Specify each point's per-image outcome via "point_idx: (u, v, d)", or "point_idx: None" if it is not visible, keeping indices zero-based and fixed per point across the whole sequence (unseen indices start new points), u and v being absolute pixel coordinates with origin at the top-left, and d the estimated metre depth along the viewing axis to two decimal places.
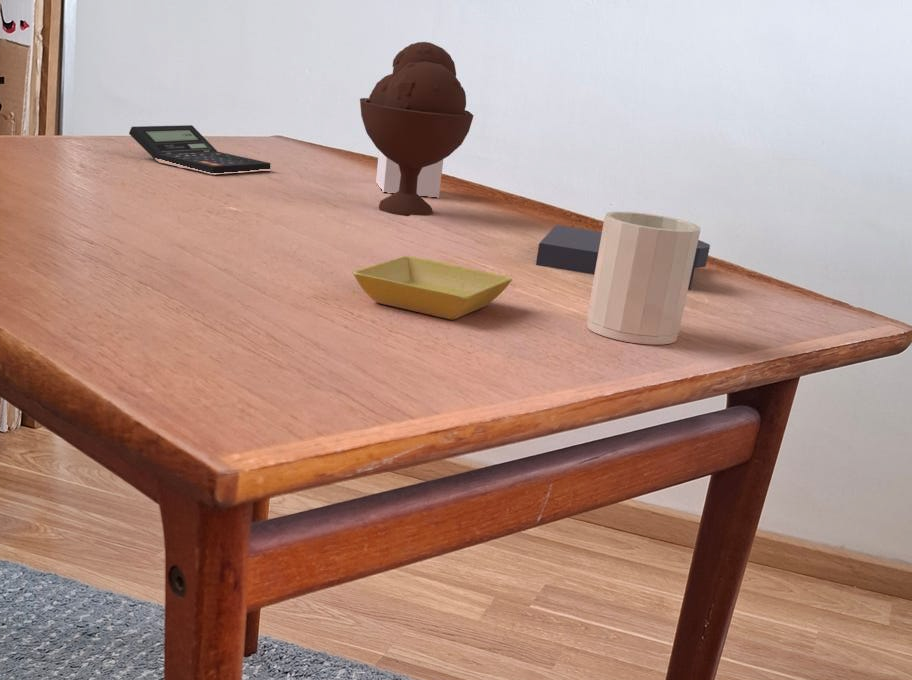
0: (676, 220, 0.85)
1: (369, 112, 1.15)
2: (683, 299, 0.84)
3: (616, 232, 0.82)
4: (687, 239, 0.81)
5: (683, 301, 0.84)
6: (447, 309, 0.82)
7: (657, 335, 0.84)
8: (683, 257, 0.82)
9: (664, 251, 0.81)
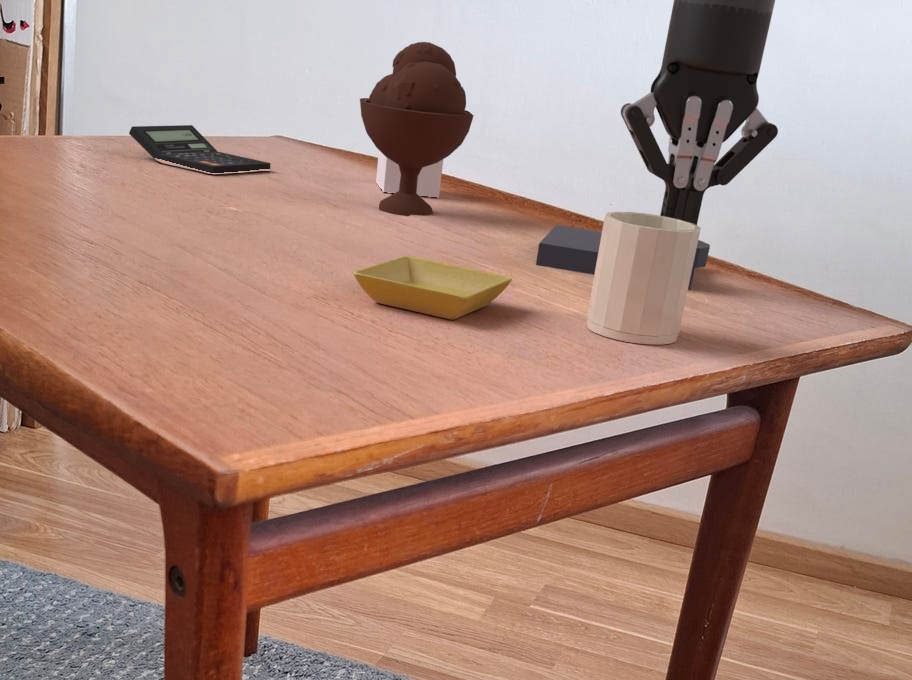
0: (676, 220, 0.85)
1: (369, 112, 1.15)
2: (683, 299, 0.84)
3: (616, 232, 0.82)
4: (687, 239, 0.81)
5: (683, 301, 0.84)
6: (447, 309, 0.82)
7: (657, 335, 0.84)
8: (683, 257, 0.82)
9: (664, 251, 0.81)
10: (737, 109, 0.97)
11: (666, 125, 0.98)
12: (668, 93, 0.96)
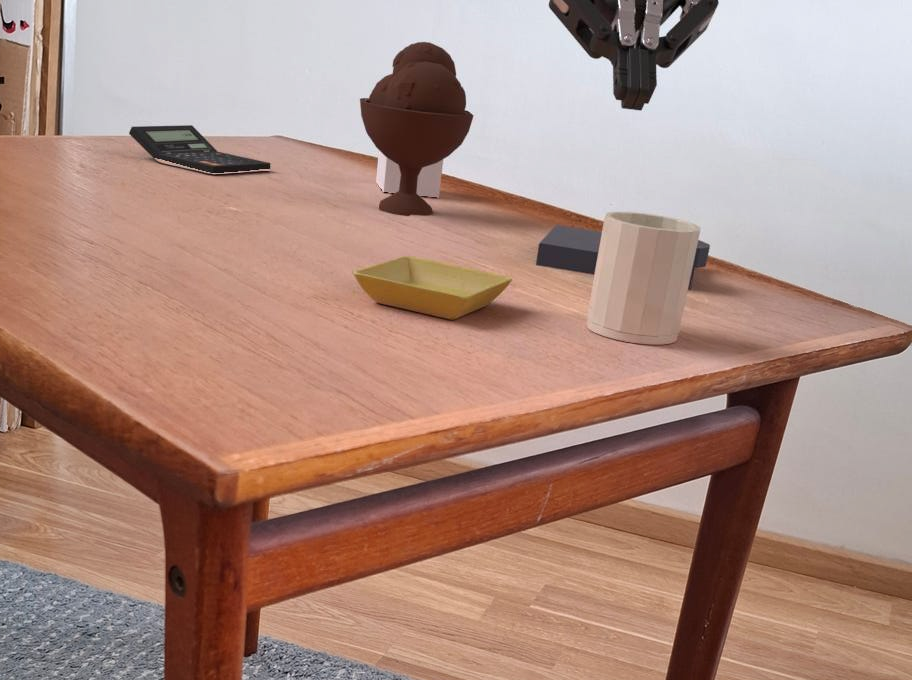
0: (676, 220, 0.85)
1: (369, 112, 1.15)
2: (683, 299, 0.84)
3: (616, 232, 0.82)
4: (687, 239, 0.81)
5: (683, 301, 0.84)
6: (447, 309, 0.82)
7: (657, 335, 0.84)
8: (683, 257, 0.82)
9: (664, 251, 0.81)
10: None
11: None
12: None
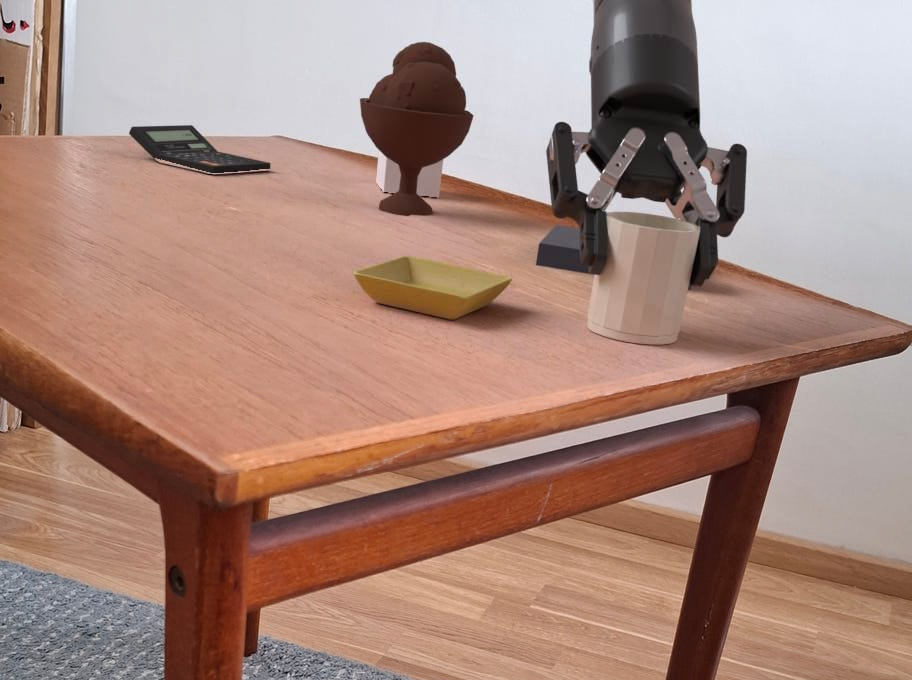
0: (676, 220, 0.85)
1: (369, 112, 1.15)
2: (683, 299, 0.84)
3: (615, 233, 0.82)
4: (687, 239, 0.81)
5: (683, 301, 0.84)
6: (447, 309, 0.82)
7: (657, 335, 0.84)
8: (683, 257, 0.82)
9: (664, 251, 0.81)
10: (693, 153, 0.85)
11: None
12: (605, 134, 0.84)
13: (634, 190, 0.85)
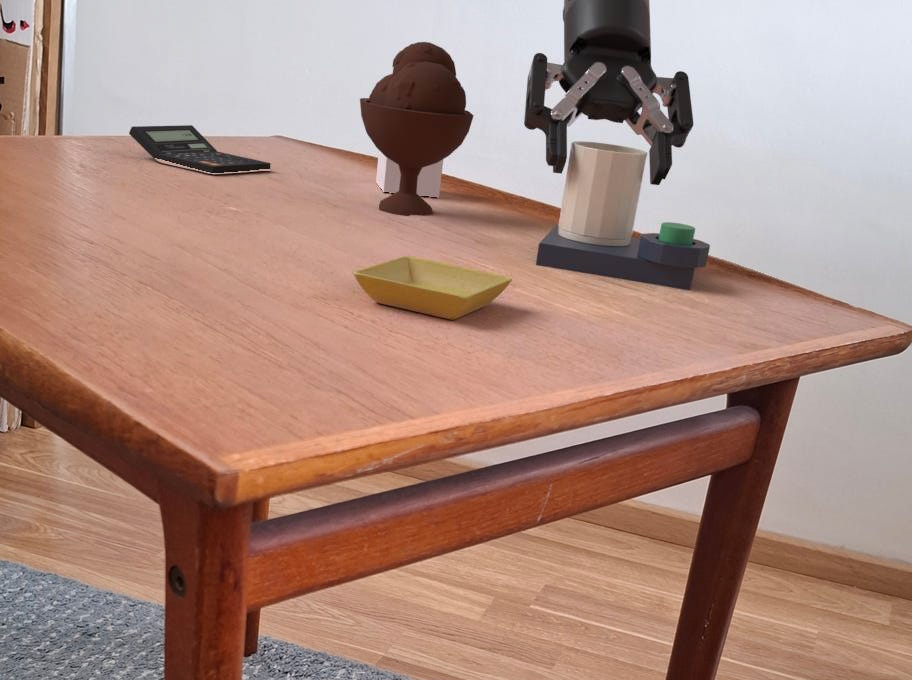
0: (629, 148, 1.07)
1: (369, 112, 1.15)
2: (634, 210, 1.06)
3: (579, 155, 1.03)
4: (636, 160, 1.03)
5: (634, 212, 1.06)
6: (447, 309, 0.82)
7: (613, 239, 1.06)
8: (632, 175, 1.04)
9: (617, 170, 1.03)
10: (646, 83, 1.06)
11: None
12: (575, 67, 1.06)
13: (598, 112, 1.06)
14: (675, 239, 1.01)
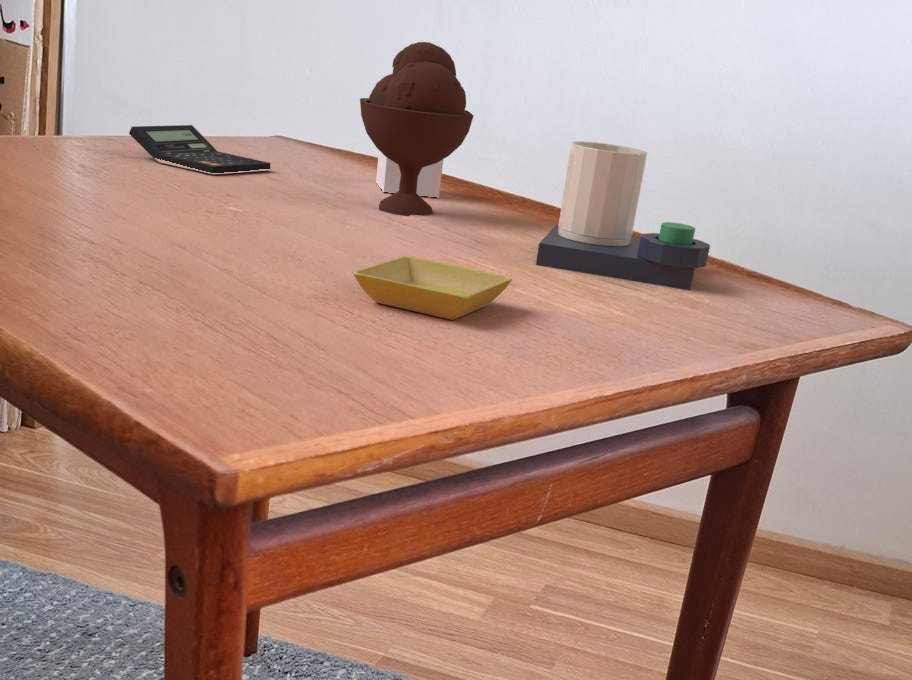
0: (629, 148, 1.07)
1: (369, 112, 1.15)
2: (634, 210, 1.06)
3: (579, 155, 1.03)
4: (636, 160, 1.03)
5: (634, 212, 1.06)
6: (447, 309, 0.82)
7: (613, 239, 1.06)
8: (632, 175, 1.04)
9: (617, 170, 1.03)
10: None
11: None
12: None
13: None
14: (675, 239, 1.01)
